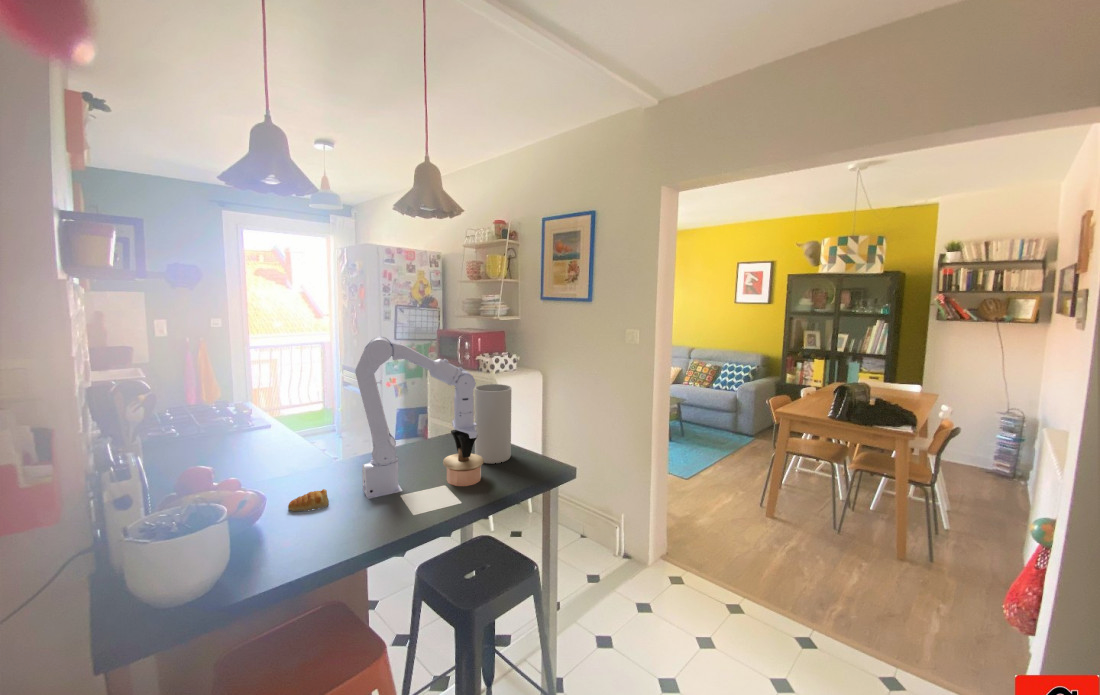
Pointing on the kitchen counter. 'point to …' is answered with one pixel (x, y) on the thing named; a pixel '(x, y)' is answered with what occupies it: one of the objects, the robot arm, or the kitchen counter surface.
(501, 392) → the cylinder vase
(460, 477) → the bowl
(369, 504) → the kitchen counter surface
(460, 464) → the lid
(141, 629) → the kitchen counter surface
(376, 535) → the kitchen counter surface
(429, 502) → the mat
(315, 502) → the pastry
